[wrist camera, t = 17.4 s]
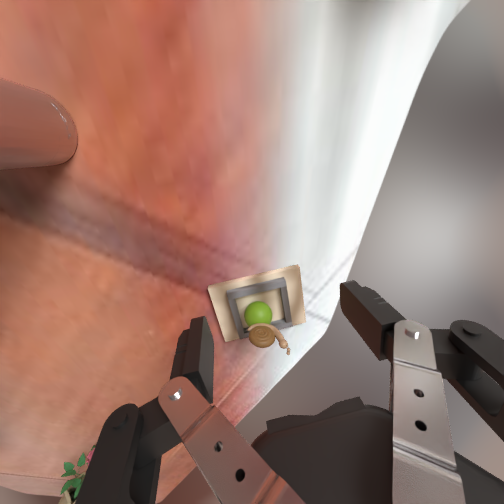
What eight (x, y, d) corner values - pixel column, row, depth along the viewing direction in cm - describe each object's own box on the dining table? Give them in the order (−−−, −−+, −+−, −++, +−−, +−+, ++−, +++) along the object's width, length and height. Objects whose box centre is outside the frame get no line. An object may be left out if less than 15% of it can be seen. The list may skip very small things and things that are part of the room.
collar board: (225, 337, 50) (225, 347, 48) (208, 285, 44) (207, 293, 42) (304, 318, 51) (308, 326, 48) (297, 264, 45) (302, 270, 43)
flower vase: (77, 454, 71) (97, 413, 54) (111, 474, 72) (141, 440, 55) (37, 507, 61) (46, 478, 44) (77, 530, 61) (100, 510, 44)
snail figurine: (273, 316, 48) (289, 365, 37) (242, 318, 47) (249, 368, 36) (275, 294, 46) (292, 339, 35) (243, 296, 45) (251, 342, 34)
